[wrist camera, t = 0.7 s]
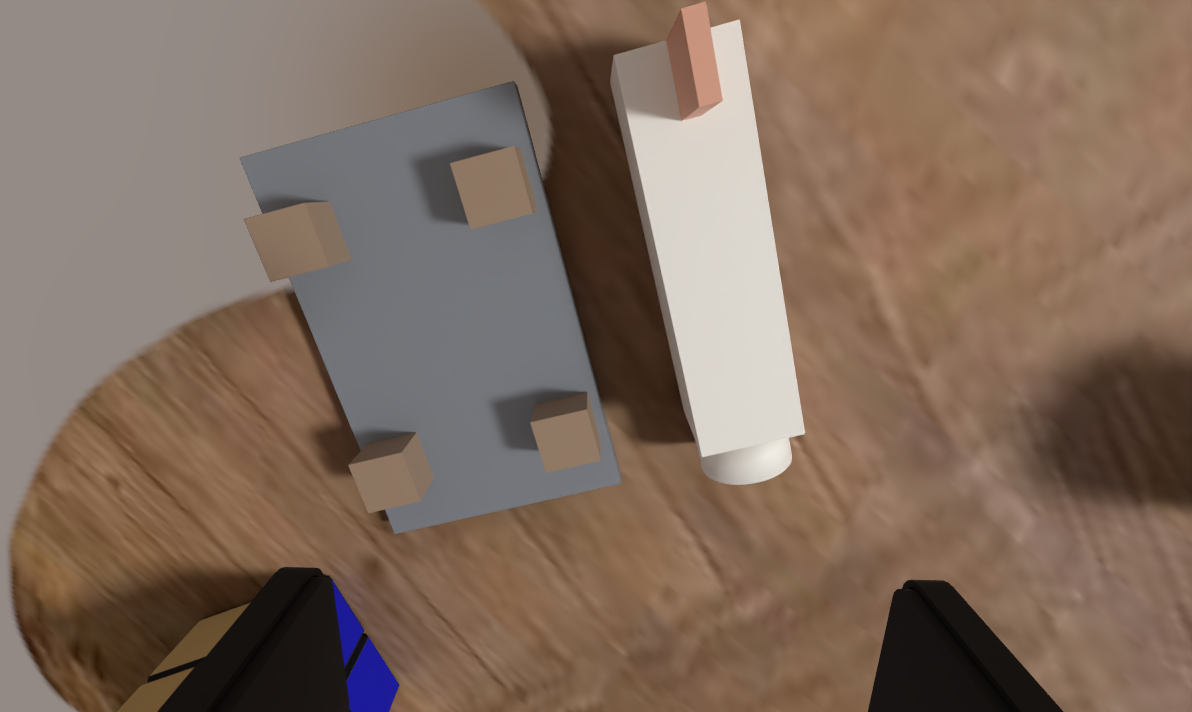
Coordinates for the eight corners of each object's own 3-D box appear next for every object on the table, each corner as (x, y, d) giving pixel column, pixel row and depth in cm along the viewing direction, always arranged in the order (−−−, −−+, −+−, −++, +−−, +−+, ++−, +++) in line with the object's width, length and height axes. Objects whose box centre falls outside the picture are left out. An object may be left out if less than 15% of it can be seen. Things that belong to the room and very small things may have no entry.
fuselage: (609, 82, 27) (617, 26, 18) (709, 55, 27) (770, -17, 18) (691, 445, 33) (730, 550, 24) (774, 427, 33) (847, 525, 23)
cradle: (254, 158, 28) (204, 155, 25) (517, 85, 27) (505, 70, 24) (401, 522, 35) (379, 560, 31) (620, 473, 34) (623, 507, 30)
